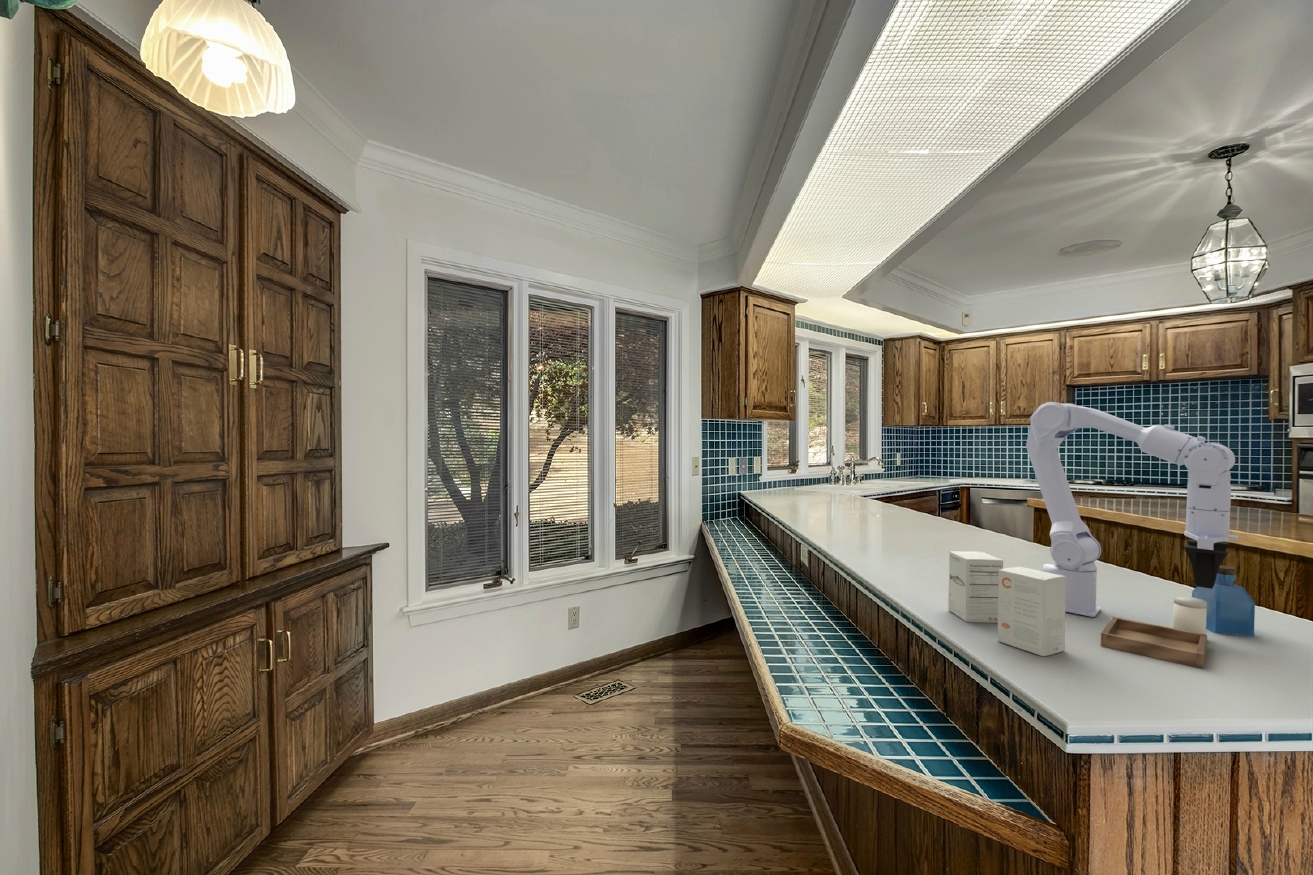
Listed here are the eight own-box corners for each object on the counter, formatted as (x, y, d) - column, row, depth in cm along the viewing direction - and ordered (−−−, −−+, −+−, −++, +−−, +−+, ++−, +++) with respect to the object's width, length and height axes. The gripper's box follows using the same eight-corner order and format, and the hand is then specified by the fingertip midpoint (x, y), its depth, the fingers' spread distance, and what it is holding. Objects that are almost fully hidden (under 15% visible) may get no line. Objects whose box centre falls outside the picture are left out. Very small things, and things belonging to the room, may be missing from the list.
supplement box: (947, 610, 119) (948, 550, 119) (983, 611, 119) (984, 551, 119) (964, 622, 112) (966, 558, 112) (1003, 623, 112) (1004, 559, 111)
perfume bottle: (1254, 635, 106) (1255, 571, 106) (1214, 633, 107) (1216, 569, 107) (1228, 624, 112) (1229, 564, 112) (1191, 622, 113) (1192, 562, 113)
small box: (1065, 651, 98) (1067, 575, 97) (1043, 657, 95) (1045, 579, 95) (1018, 635, 105) (1019, 565, 105) (996, 641, 102) (997, 568, 102)
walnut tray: (1100, 645, 100) (1101, 633, 100) (1112, 628, 109) (1113, 616, 109) (1202, 668, 91) (1203, 654, 91) (1206, 647, 100) (1207, 634, 100)
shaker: (1172, 636, 105) (1172, 599, 105) (1174, 631, 108) (1175, 594, 108) (1205, 643, 102) (1206, 604, 102) (1206, 637, 105) (1207, 599, 105)
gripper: (1239, 515, 96) (1236, 596, 96) (1239, 507, 106) (1236, 580, 106) (1182, 511, 101) (1179, 587, 101) (1187, 503, 111) (1185, 573, 111)
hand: (1205, 583), depth 104 cm, fingers open, 7 cm apart
